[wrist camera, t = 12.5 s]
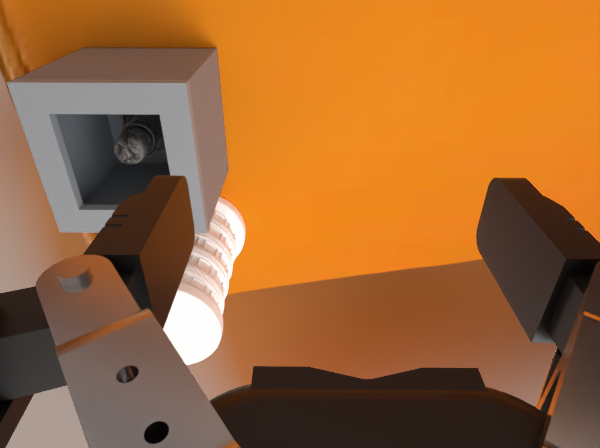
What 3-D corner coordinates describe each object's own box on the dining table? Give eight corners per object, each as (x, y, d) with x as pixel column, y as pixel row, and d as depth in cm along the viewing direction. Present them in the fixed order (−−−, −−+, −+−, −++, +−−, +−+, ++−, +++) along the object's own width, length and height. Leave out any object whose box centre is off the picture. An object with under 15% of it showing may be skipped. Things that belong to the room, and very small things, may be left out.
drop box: (83, 47, 46) (6, 82, 34) (216, 48, 46) (186, 83, 34) (114, 169, 53) (59, 232, 41) (228, 169, 53) (206, 233, 41)
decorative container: (226, 180, 54) (195, 271, 39) (258, 252, 60) (242, 356, 45) (142, 203, 56) (81, 299, 41) (181, 271, 62) (141, 377, 46)
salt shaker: (131, 131, 50) (87, 178, 40) (136, 81, 47) (89, 118, 37) (182, 144, 51) (152, 194, 41) (190, 96, 48) (159, 136, 38)
